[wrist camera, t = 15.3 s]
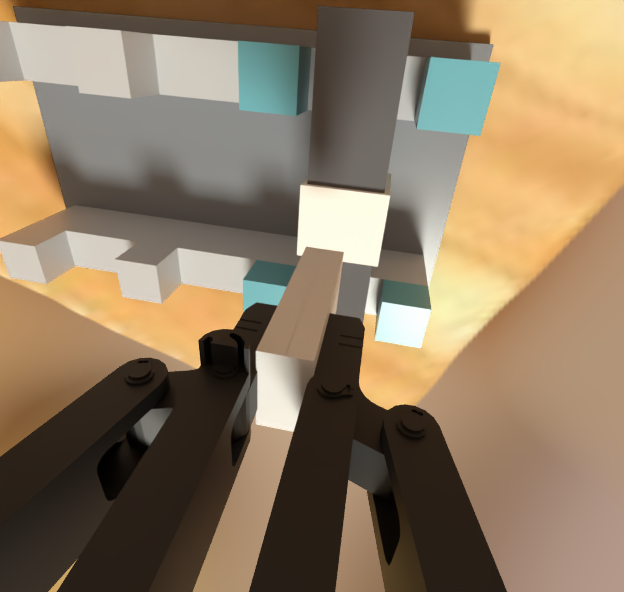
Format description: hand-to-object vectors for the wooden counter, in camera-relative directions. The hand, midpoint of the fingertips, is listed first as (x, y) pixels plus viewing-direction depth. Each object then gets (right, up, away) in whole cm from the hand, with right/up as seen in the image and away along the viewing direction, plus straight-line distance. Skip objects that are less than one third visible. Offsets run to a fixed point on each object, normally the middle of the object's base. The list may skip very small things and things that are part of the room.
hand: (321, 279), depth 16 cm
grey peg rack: (-6, +10, +15) cm, 19 cm away
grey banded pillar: (+2, +5, +9) cm, 10 cm away
